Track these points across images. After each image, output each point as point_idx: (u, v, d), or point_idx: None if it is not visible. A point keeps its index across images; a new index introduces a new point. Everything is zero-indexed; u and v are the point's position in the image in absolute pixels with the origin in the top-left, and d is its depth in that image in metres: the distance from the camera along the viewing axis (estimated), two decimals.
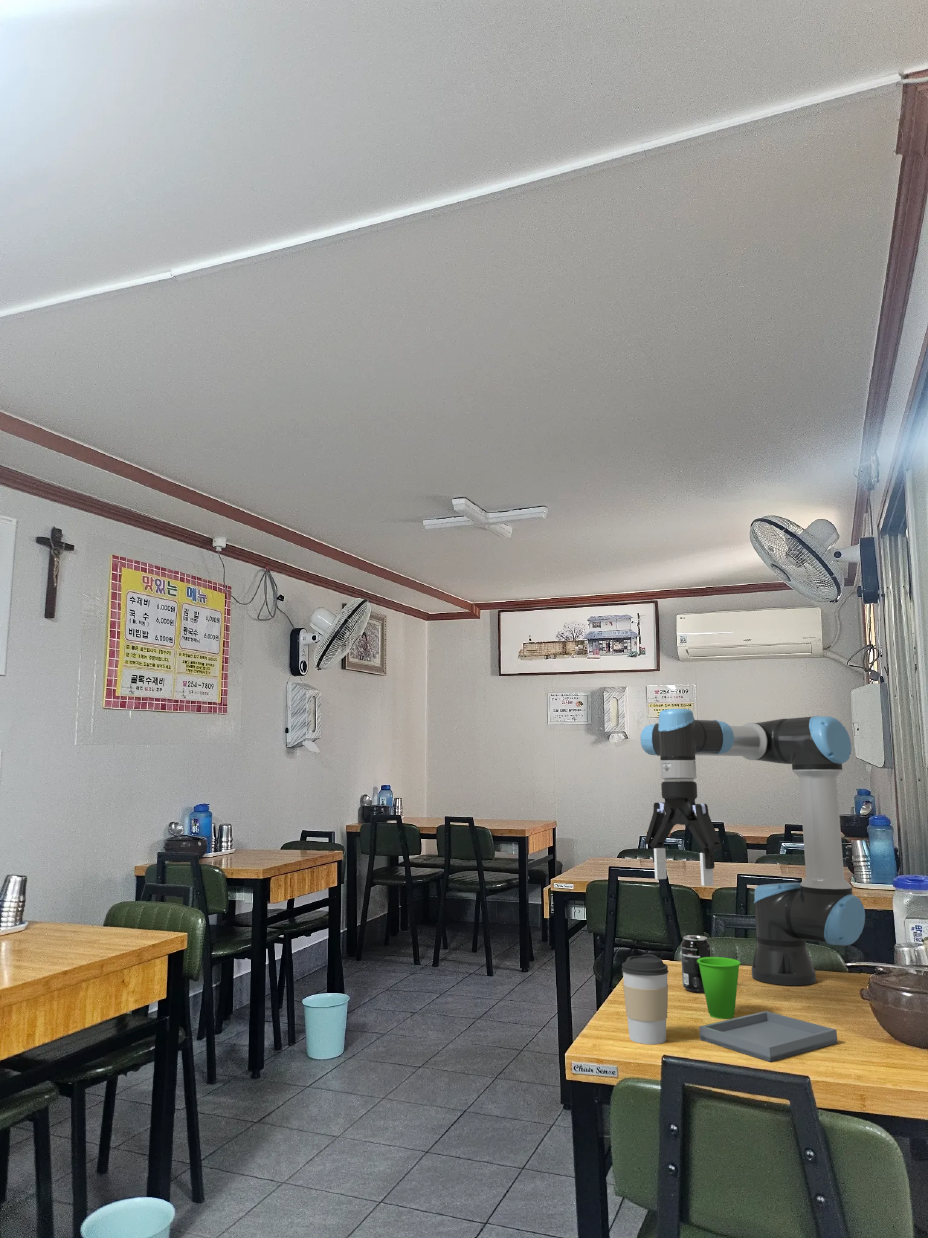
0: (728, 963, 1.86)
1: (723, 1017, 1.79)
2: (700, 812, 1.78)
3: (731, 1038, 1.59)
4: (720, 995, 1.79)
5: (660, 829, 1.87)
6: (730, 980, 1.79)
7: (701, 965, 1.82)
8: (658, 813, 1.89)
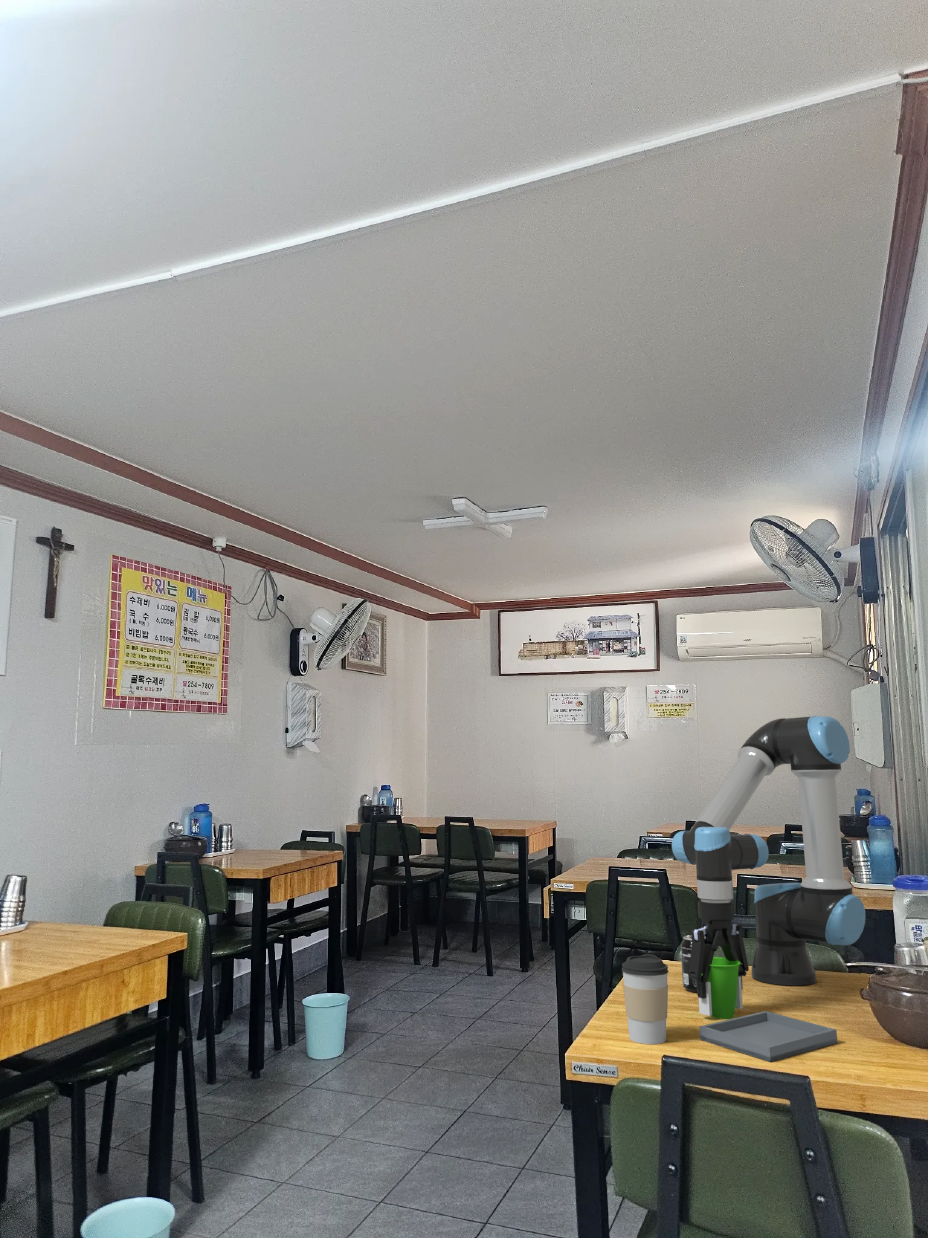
0: (727, 963, 1.86)
1: (723, 1017, 1.79)
2: (692, 938, 1.81)
3: (731, 1038, 1.59)
4: (720, 995, 1.79)
5: None
6: (730, 980, 1.79)
7: None
8: (731, 934, 1.88)
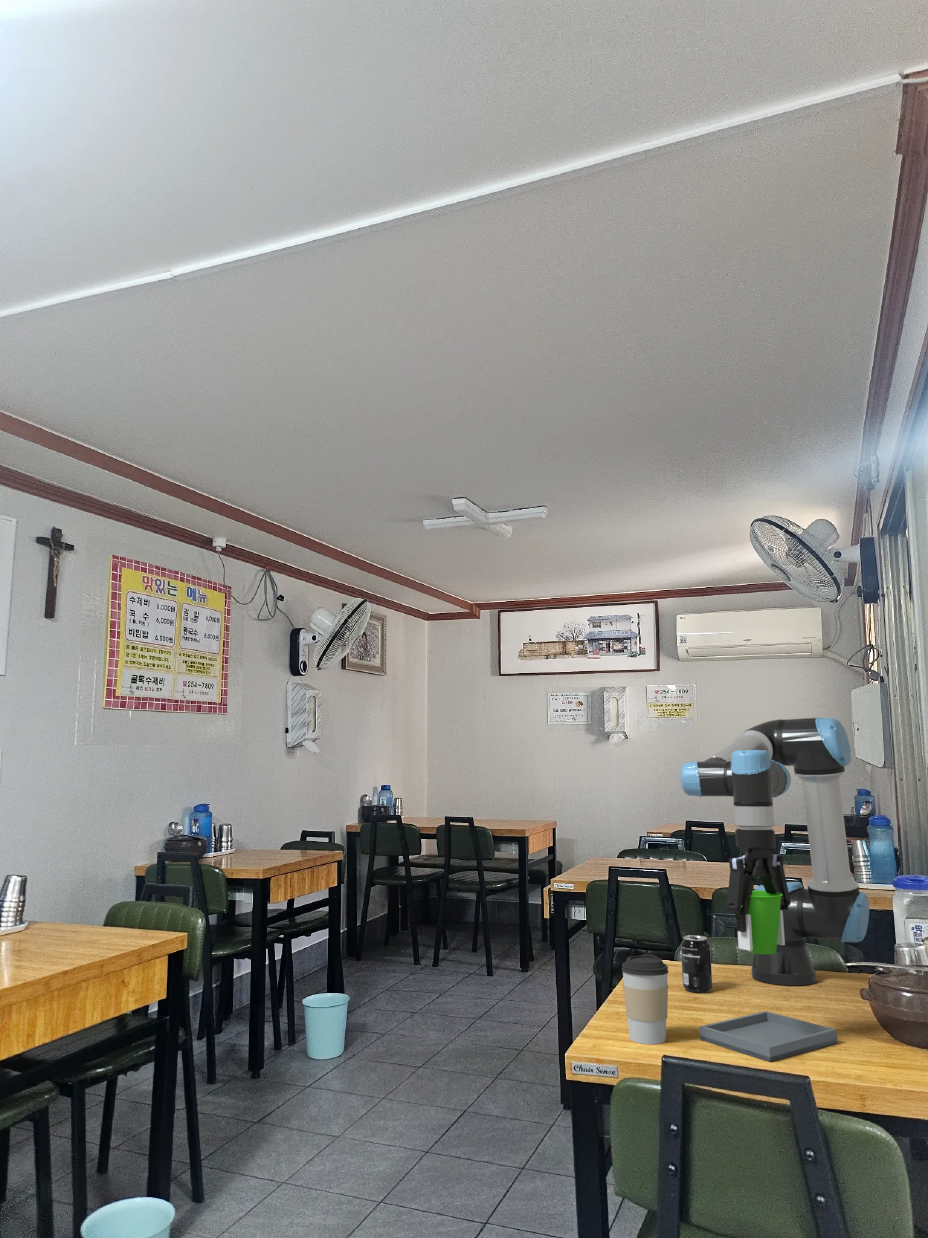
0: None
1: (764, 952, 1.64)
2: (730, 867, 1.67)
3: (731, 1038, 1.59)
4: (761, 928, 1.64)
5: None
6: (772, 912, 1.64)
7: None
8: None
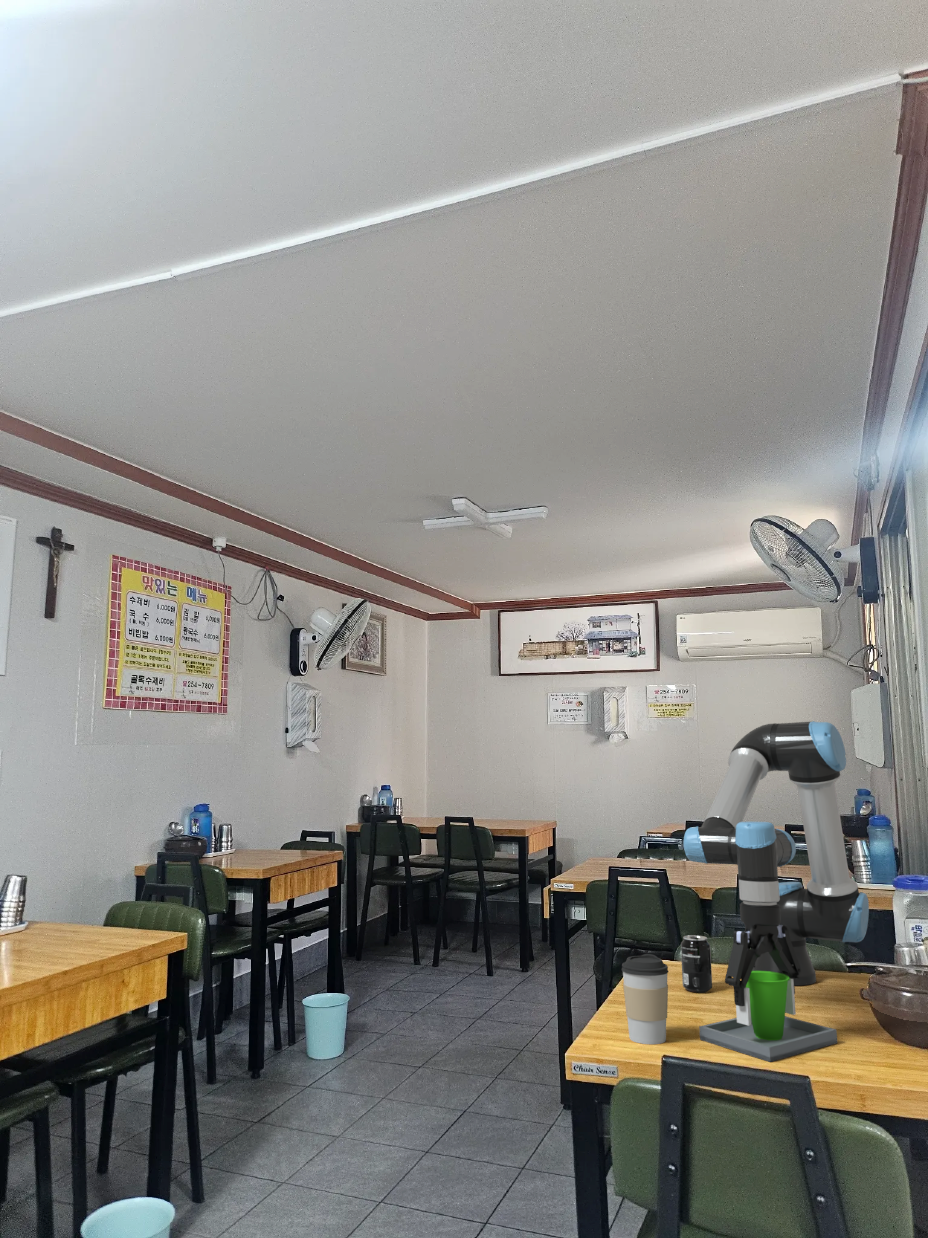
0: (774, 978, 1.68)
1: (771, 1038, 1.61)
2: (733, 940, 1.64)
3: (731, 1038, 1.59)
4: (767, 1014, 1.62)
5: None
6: (779, 997, 1.62)
7: None
8: (777, 937, 1.71)
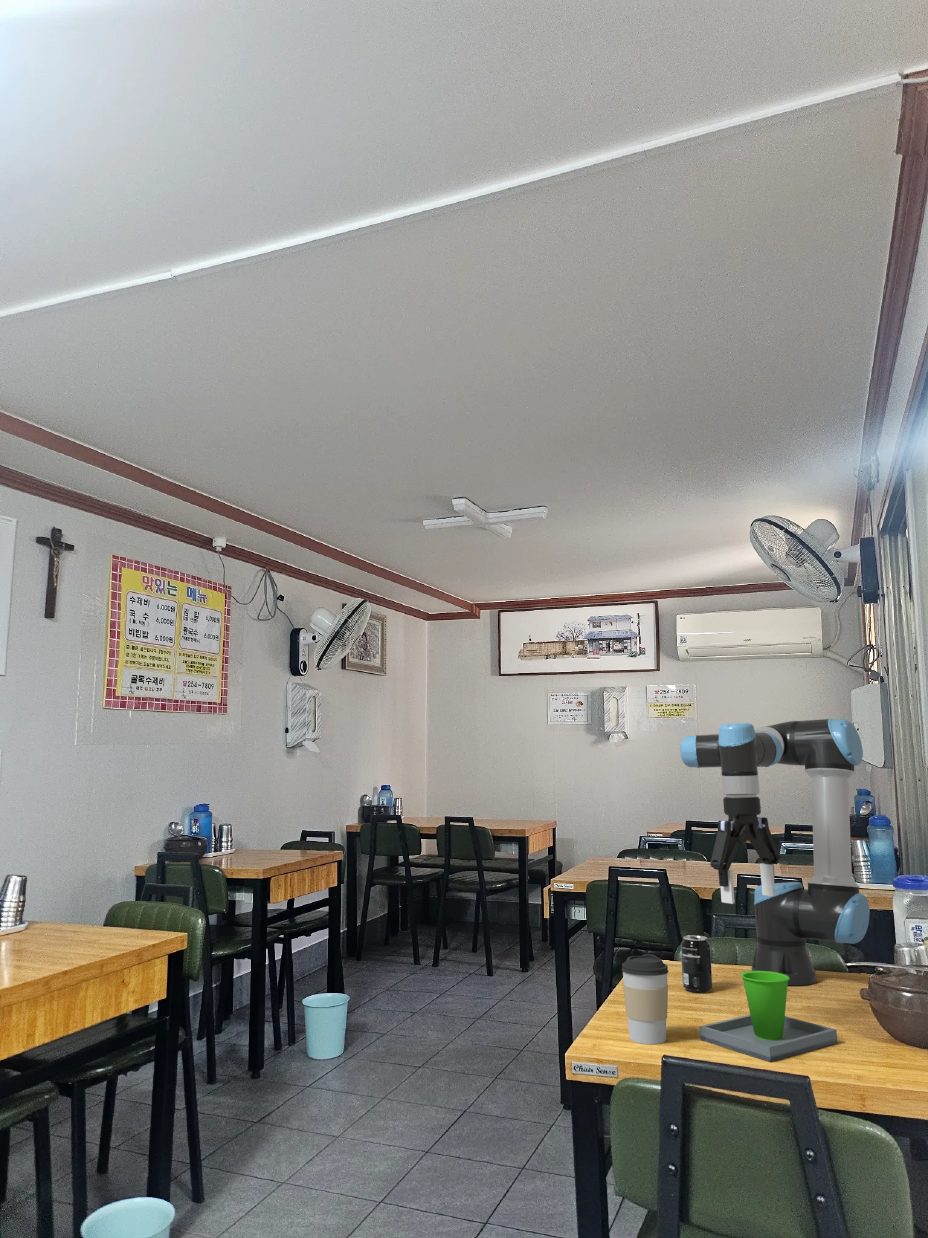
0: (774, 978, 1.68)
1: (771, 1038, 1.61)
2: (718, 828, 1.79)
3: (731, 1038, 1.59)
4: (767, 1014, 1.62)
5: None
6: (779, 997, 1.62)
7: (746, 980, 1.65)
8: (757, 828, 1.86)
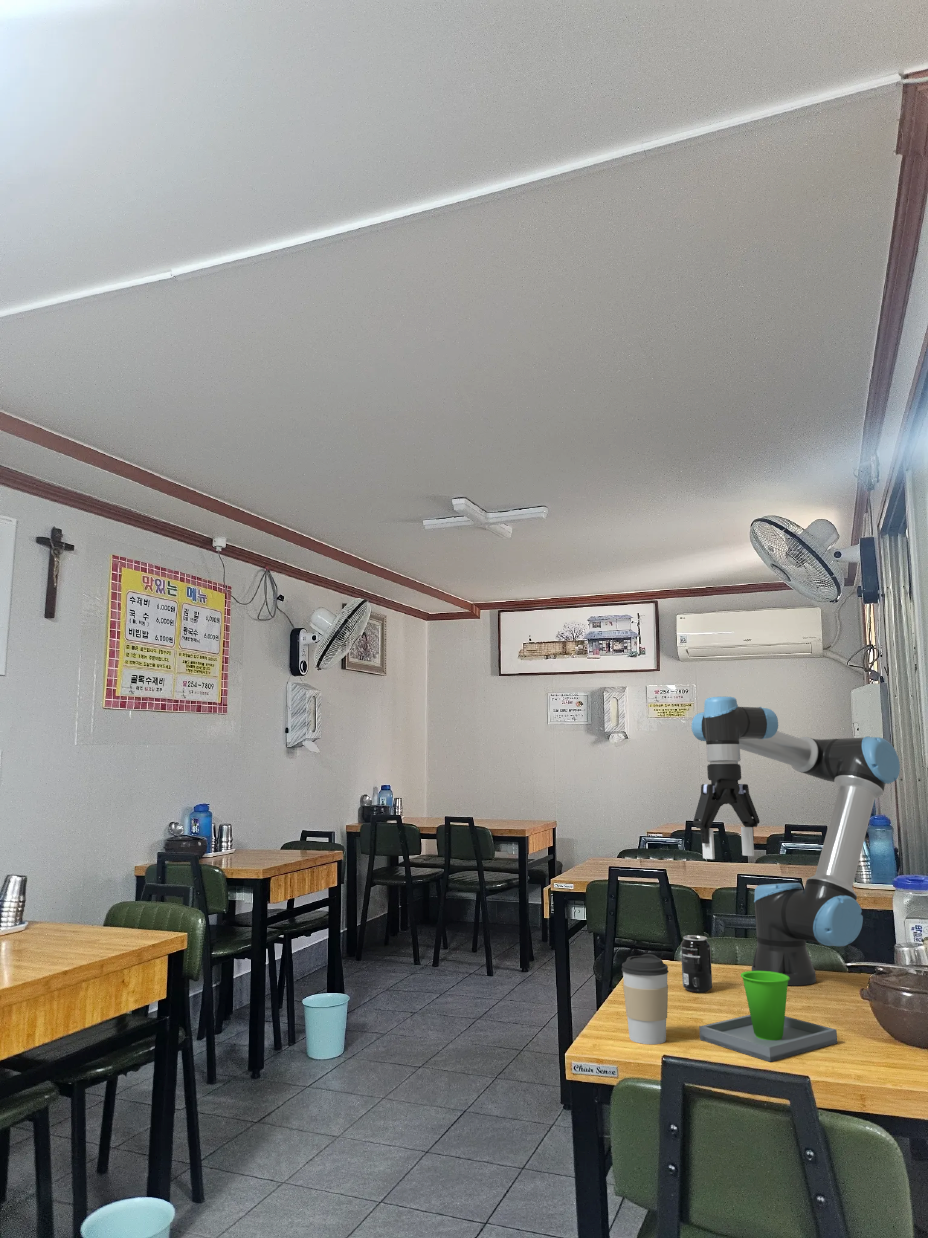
0: (774, 978, 1.68)
1: (771, 1038, 1.61)
2: (701, 791, 1.95)
3: (731, 1038, 1.59)
4: (767, 1014, 1.62)
5: None
6: (779, 997, 1.62)
7: (746, 980, 1.65)
8: (739, 794, 2.02)
